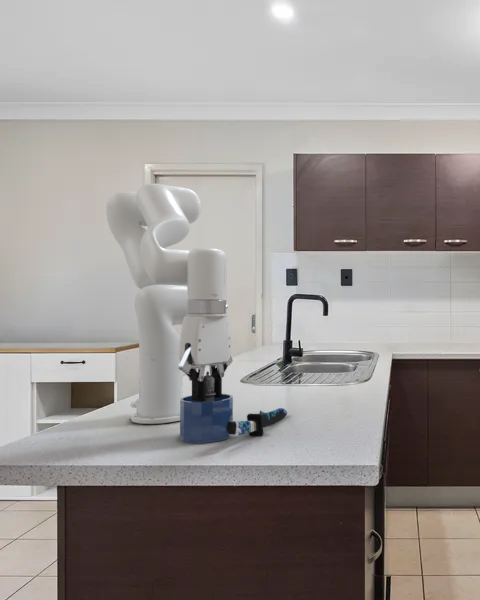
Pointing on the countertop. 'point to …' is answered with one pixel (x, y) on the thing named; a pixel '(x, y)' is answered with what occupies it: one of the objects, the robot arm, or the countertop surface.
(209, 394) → the salt shaker
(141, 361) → the robot arm
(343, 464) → the countertop surface
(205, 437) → the blue cup
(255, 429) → the knife
